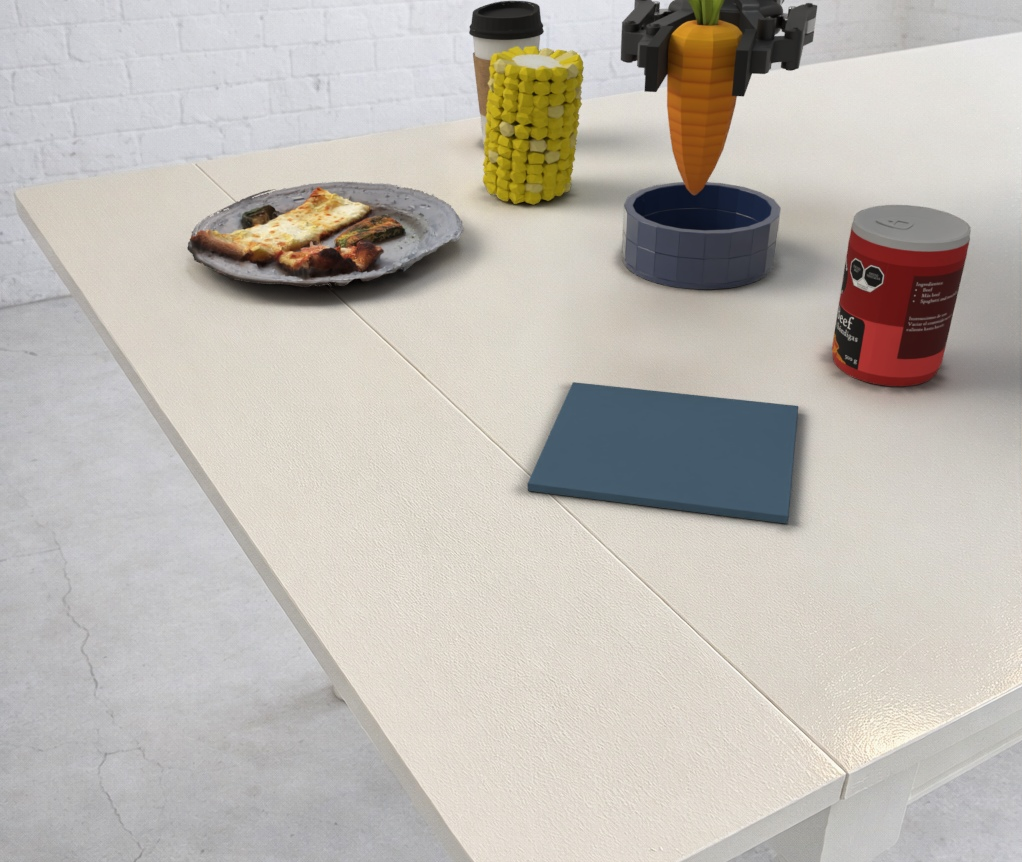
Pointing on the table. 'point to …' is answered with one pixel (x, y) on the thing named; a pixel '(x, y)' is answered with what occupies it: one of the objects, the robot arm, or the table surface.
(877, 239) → the canned food
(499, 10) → the coffee cup
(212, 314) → the table surface
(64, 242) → the table surface
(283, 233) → the food plate
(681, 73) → the carrot
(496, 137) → the food
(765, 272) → the pot
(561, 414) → the blue rectangular board
